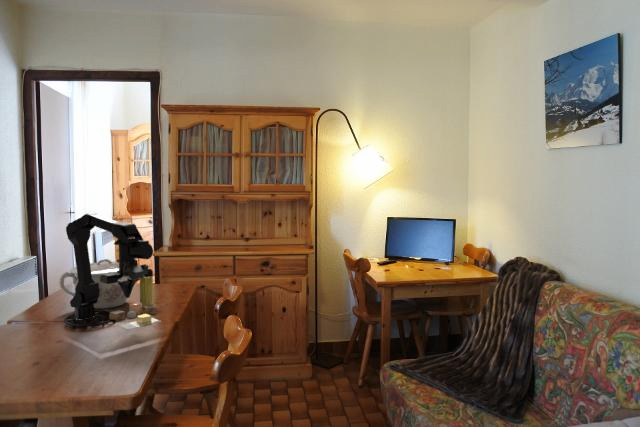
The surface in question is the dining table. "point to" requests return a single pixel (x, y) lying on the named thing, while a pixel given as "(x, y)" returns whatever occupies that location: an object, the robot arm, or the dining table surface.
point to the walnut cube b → (150, 309)
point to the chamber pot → (100, 284)
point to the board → (137, 324)
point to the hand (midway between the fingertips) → (127, 297)
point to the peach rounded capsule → (136, 307)
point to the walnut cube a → (117, 315)
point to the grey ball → (131, 314)
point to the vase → (146, 291)
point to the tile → (143, 319)
